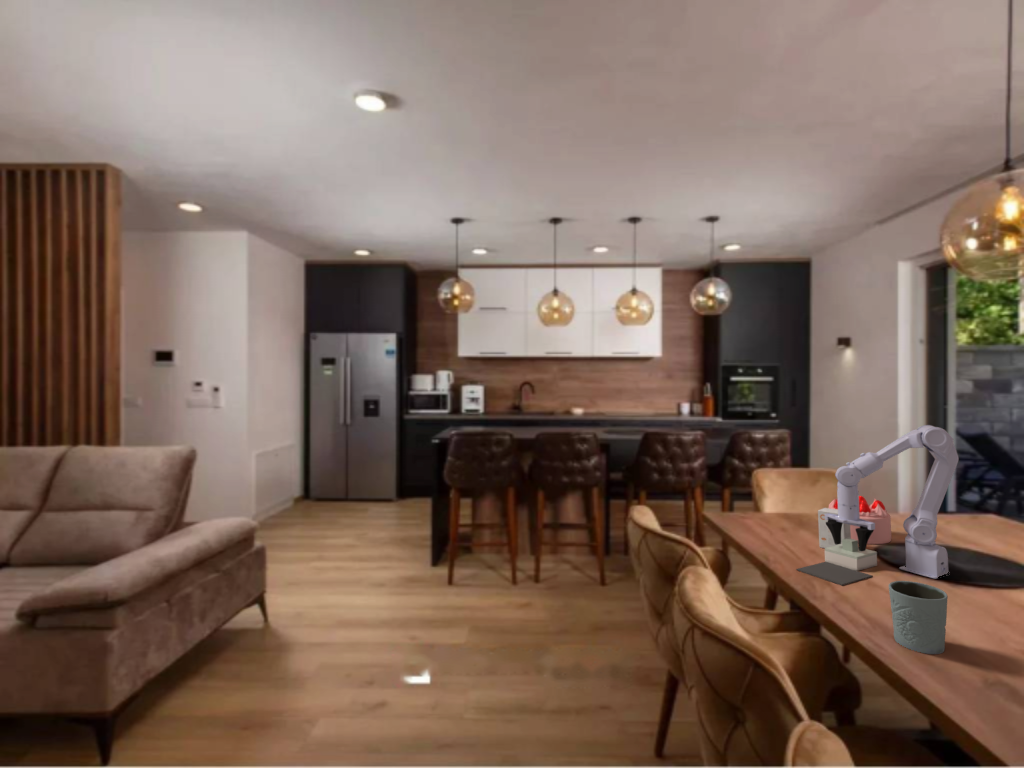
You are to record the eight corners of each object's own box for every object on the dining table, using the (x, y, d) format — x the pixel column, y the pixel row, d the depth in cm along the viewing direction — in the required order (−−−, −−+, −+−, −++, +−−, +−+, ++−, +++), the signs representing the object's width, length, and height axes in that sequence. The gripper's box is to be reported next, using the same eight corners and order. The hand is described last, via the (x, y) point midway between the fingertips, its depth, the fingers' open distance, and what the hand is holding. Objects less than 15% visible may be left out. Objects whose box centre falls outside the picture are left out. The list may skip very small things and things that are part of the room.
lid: (877, 556, 157) (876, 541, 157) (857, 562, 152) (856, 546, 152) (844, 548, 166) (843, 533, 166) (825, 553, 161) (824, 538, 161)
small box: (851, 548, 173) (850, 511, 174) (845, 552, 169) (843, 514, 170) (825, 543, 180) (824, 507, 180) (818, 547, 176) (817, 510, 176)
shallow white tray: (877, 565, 156) (876, 554, 157) (857, 571, 152) (856, 559, 152) (844, 556, 166) (844, 545, 166) (824, 561, 161) (824, 550, 162)
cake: (850, 527, 199) (849, 491, 199) (905, 540, 180) (903, 501, 181) (815, 533, 192) (814, 496, 192) (868, 548, 173) (867, 507, 174)
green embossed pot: (922, 632, 114) (920, 579, 114) (963, 655, 104) (961, 597, 104) (879, 634, 114) (876, 581, 114) (916, 658, 104) (914, 599, 104)
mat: (872, 576, 147) (872, 575, 147) (842, 585, 142) (842, 584, 142) (826, 562, 160) (825, 561, 160) (796, 570, 154) (796, 568, 154)
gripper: (818, 501, 164) (819, 542, 164) (864, 510, 151) (866, 555, 151) (831, 499, 167) (833, 539, 167) (878, 507, 154) (880, 552, 154)
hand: (849, 547), depth 159 cm, fingers open, 7 cm apart
